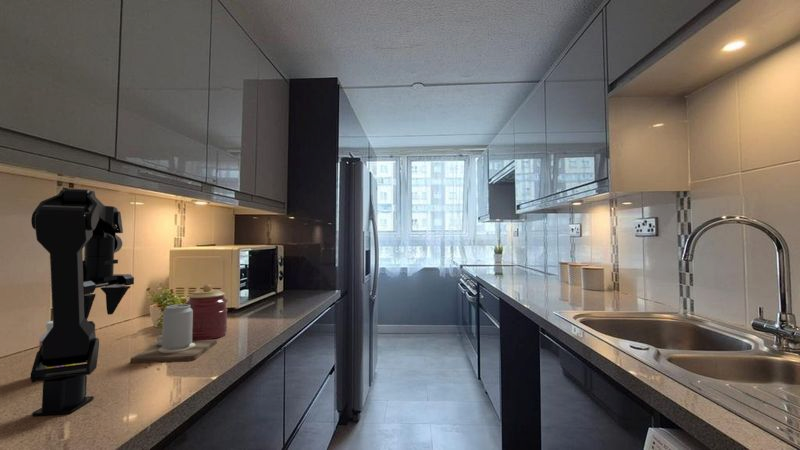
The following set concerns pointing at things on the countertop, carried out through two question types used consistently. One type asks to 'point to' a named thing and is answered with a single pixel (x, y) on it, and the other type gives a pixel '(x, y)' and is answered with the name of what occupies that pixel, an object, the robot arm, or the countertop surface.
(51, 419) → the countertop surface
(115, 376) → the countertop surface
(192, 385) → the countertop surface
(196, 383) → the countertop surface
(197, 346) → the board
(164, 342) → the can
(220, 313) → the canister
